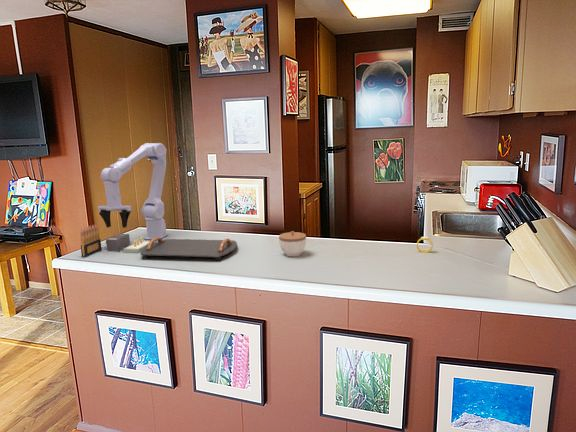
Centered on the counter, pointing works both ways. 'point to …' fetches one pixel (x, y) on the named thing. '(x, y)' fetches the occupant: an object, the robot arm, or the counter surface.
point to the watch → (425, 239)
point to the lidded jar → (292, 243)
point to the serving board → (189, 248)
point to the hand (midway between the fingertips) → (116, 227)
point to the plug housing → (118, 242)
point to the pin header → (136, 246)
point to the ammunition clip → (90, 241)
